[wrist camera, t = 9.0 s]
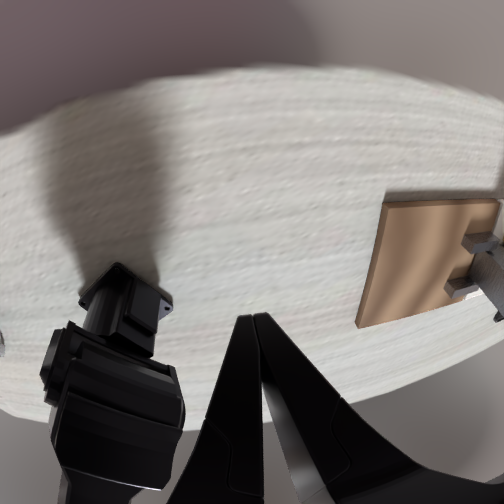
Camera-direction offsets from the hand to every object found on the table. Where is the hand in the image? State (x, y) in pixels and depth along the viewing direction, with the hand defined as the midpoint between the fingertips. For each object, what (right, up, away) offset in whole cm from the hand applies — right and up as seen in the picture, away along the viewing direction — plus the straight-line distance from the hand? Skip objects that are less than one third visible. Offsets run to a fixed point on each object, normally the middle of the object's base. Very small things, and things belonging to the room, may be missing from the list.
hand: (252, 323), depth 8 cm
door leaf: (+19, +1, +18) cm, 26 cm away
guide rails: (+24, +2, +19) cm, 30 cm away
